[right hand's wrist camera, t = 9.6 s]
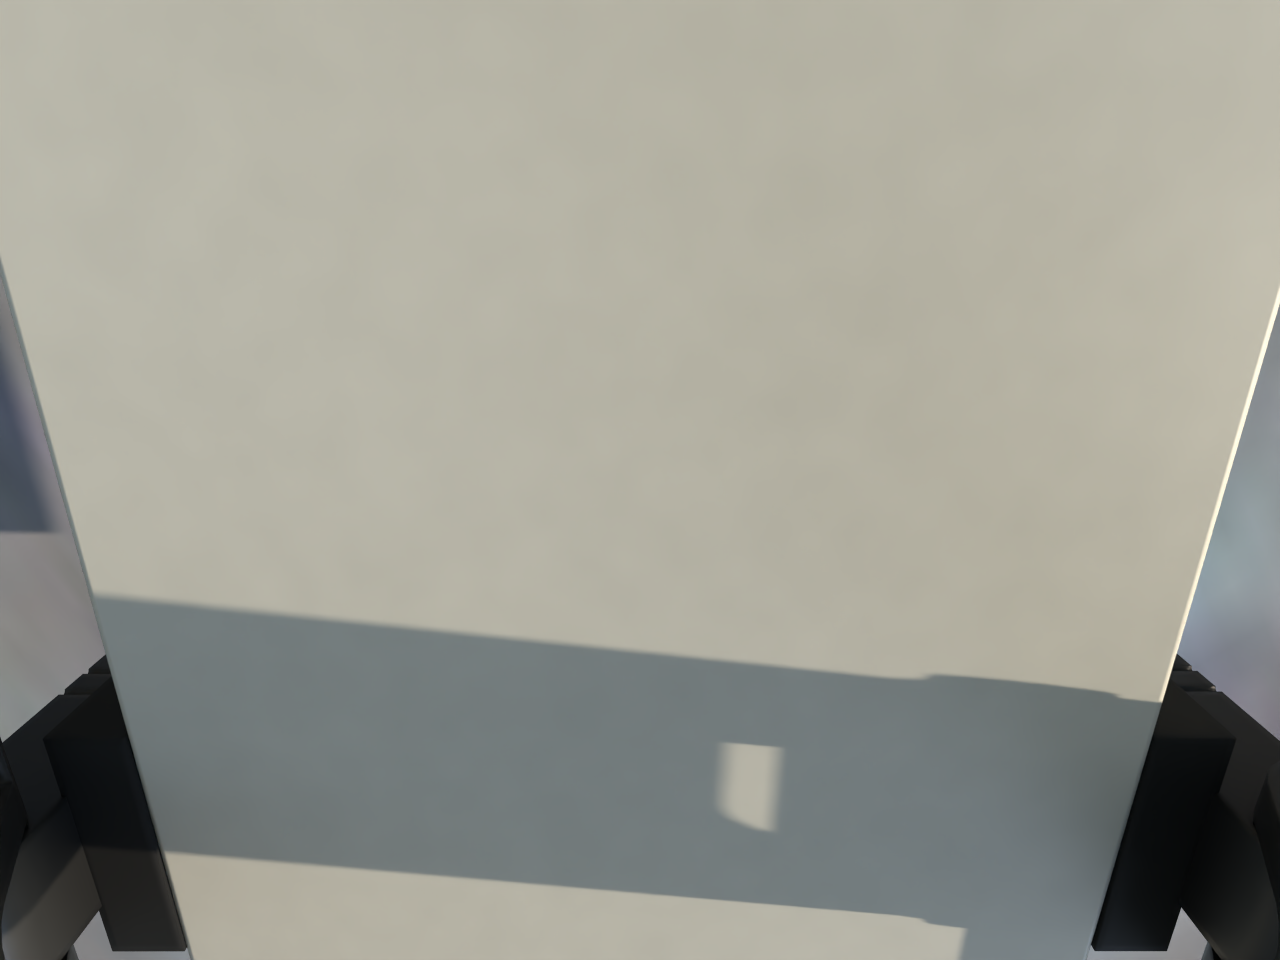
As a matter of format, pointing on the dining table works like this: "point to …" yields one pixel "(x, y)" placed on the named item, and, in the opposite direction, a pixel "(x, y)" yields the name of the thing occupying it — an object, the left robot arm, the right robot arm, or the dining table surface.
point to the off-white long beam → (640, 449)
